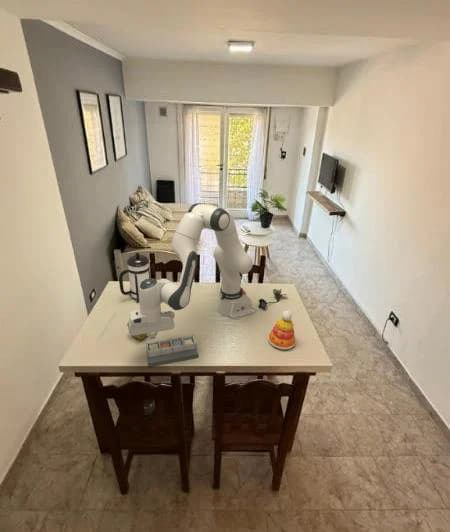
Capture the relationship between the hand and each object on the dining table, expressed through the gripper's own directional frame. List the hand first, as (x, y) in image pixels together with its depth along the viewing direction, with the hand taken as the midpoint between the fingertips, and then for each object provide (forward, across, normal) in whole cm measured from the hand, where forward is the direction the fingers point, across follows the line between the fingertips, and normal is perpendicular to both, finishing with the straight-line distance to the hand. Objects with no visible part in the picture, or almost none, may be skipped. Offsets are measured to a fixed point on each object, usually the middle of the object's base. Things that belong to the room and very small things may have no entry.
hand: (152, 338), depth 140 cm
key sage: (+9, 0, 0) cm, 9 cm away
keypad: (+10, -8, 0) cm, 13 cm away
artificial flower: (+10, -76, -28) cm, 81 cm away
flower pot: (+11, +5, -16) cm, 20 cm away
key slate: (+9, -11, 0) cm, 14 cm away
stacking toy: (+10, -64, +7) cm, 65 cm away
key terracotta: (+10, -6, 0) cm, 11 cm away
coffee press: (+10, +3, -53) cm, 54 cm away
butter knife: (+11, +22, -29) cm, 38 cm away
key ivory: (+10, -17, 0) cm, 19 cm away
